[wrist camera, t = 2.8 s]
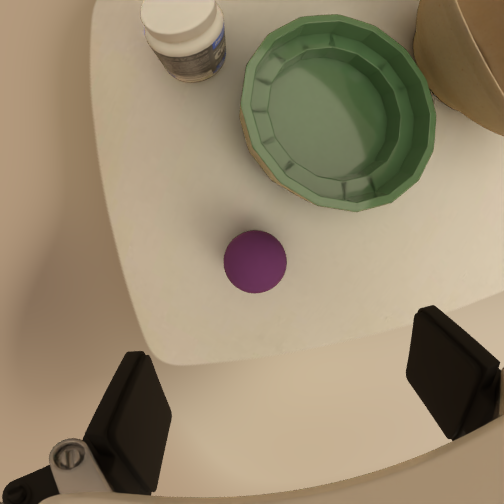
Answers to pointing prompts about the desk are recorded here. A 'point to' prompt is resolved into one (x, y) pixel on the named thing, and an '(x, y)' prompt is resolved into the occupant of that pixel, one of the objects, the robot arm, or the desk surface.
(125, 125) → the desk surface
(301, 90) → the bowl
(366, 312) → the desk surface
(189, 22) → the pill bottle
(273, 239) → the ball
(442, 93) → the planter bowl
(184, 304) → the desk surface
